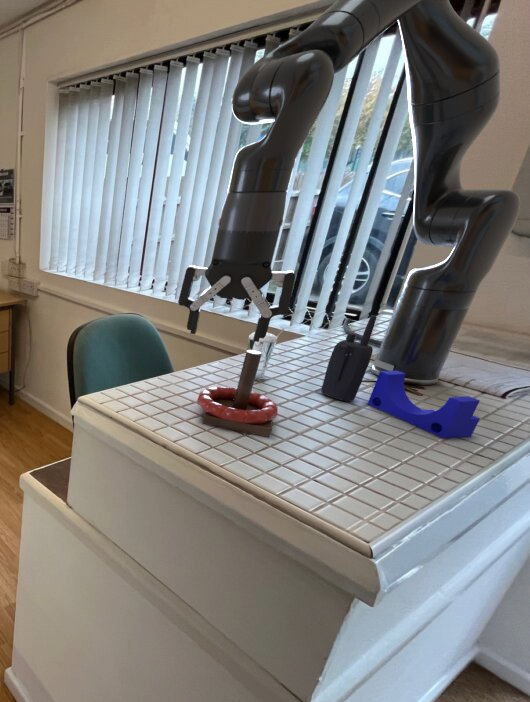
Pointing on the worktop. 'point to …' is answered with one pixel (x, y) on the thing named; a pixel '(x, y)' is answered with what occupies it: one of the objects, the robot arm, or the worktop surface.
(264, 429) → the stand
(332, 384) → the two-way radio
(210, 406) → the ring
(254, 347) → the milkshake
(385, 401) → the cable clip
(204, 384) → the worktop surface
